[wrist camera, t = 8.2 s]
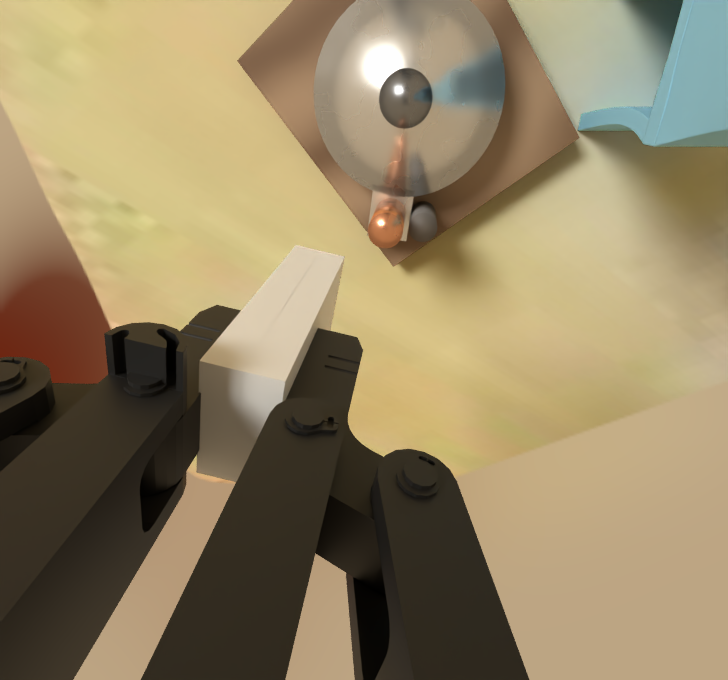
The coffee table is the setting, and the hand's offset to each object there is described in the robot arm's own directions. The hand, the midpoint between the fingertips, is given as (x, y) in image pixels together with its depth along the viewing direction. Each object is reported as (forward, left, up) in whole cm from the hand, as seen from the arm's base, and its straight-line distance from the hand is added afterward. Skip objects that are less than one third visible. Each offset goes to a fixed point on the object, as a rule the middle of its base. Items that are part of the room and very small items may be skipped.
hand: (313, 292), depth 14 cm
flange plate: (-2, +4, -16) cm, 16 cm away
